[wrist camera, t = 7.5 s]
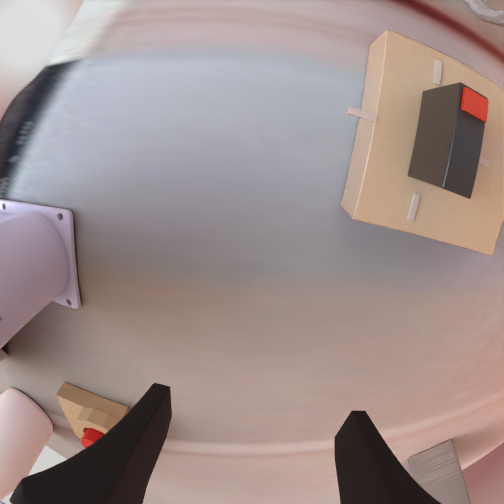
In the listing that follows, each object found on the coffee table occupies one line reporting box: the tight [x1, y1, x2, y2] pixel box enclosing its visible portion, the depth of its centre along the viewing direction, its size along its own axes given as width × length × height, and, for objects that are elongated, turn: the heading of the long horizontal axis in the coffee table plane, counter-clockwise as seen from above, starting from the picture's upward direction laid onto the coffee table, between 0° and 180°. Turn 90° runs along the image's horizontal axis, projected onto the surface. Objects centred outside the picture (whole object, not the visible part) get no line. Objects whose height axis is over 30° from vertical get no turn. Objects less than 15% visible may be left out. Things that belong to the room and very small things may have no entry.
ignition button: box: [81, 428, 104, 448], centre depth 22 cm, size 4×4×2 cm
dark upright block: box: [408, 82, 489, 199], centre depth 10 cm, size 4×2×4 cm, turn 170°
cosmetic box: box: [409, 440, 471, 504], centre depth 20 cm, size 8×7×16 cm
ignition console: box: [56, 382, 129, 439], centre depth 25 cm, size 9×10×4 cm
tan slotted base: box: [341, 30, 504, 256], centre depth 13 cm, size 11×10×3 cm
